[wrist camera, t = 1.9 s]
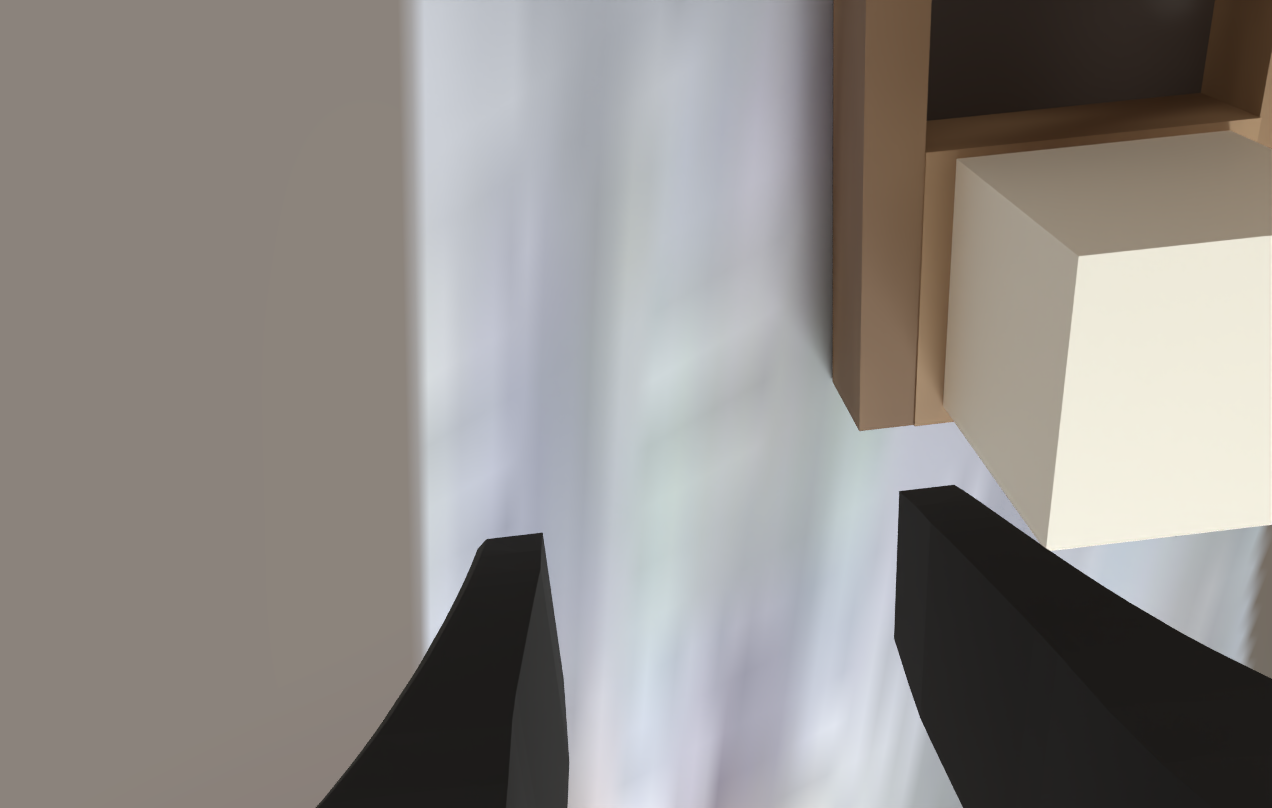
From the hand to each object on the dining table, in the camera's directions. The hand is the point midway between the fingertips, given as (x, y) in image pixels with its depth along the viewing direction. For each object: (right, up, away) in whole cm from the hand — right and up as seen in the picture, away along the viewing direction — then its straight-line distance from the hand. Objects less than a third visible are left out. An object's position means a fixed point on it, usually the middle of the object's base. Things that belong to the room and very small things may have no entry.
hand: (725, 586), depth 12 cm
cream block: (+7, +4, +7) cm, 10 cm away
